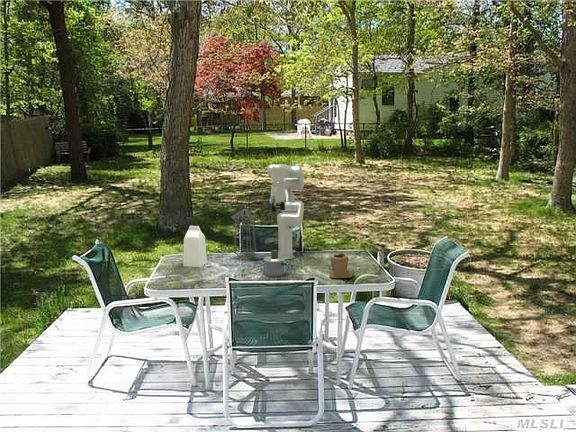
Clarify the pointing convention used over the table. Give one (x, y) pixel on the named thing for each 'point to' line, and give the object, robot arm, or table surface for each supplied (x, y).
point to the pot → (275, 268)
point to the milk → (194, 248)
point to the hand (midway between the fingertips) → (278, 211)
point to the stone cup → (340, 266)
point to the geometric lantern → (242, 232)
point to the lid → (274, 257)
